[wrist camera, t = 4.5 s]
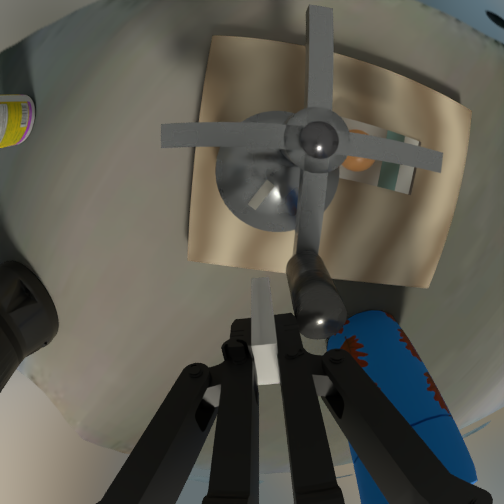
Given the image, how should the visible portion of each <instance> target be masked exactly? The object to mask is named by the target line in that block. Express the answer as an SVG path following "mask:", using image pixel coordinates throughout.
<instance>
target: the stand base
mask: <svg viewBox="0 0 504 504" xmlns="http://www.w3.org/2000/svg"><path fill="white" fill-rule="evenodd" d="M305 58H306V46H302V45H297V44H291V43H286V42H279V41H273V40H265V39H257V38H247V37H235V36H217V35H213V36H212V41H211V46H210V52H209V58H208V63H207V69H206V75H205V82H204V88H203V95H202V102H201V109H200V117H199V122H242V121H244V120H245V119H247V118H249V117H251V116H253V115H256V114H259V113H262V112H268V111H287V112H291V113H297V112H299V111H300V110H302V109H304V92H305ZM332 111H333V112H335V113H336V114H338V115H339V116H340V117H341V118H342V119H343V121H344V122H345V123H346V125H347V127H348V129H349V130H351V129H358V130H362V131H364V132H366V133H367V134H369V135H370V136H375V137H381V138H386V139H390V140H395V141H400V142H404V143H408V144H412V145H416V146H420V147H424V148H428V149H432V150H435V151H439V152H442V153H443V160H442V168H441V173H438V172H434V171H430V170H425V169H421V168H416V167H411V166H406V165H401V164H396V163H391V162H385V161H379V160H375V162H374V163H373V165H372V166H371V167H370V168H368V169H367V170H364V171H360V172H355V171H351V170H348V169H346V168H345V167H343V166H342V165H340V166H339V183H338V187H337V190H336V193H335V195H334V198H333V200H332V201H331V203H330V205H329V206H328V207H327V209H326V210H325V211H324V214H323V222H322V230H321V238H320V245H319V253H318V255H319V256H320V257H321V258H322V260H323V262H324V264H325V266H326V268H327V270H328V272H329V274H330V276H331V278H332V279H341V280H350V281H360V282H369V283H379V284H388V285H398V286H408V287H419V288H428V287H429V285H430V282H431V280H432V277H433V275H434V272H435V269H436V267H437V264H438V261H439V259H440V256H441V253H442V250H443V247H444V244H445V241H446V238H447V235H448V232H449V228H450V225H451V221H452V218H453V214H454V211H455V207H456V203H457V199H458V195H459V191H460V186H461V182H462V177H463V172H464V166H465V161H466V155H467V148H468V141H469V134H470V125H471V114H472V111H471V110H469V109H468V108H466V107H464V106H463V105H461V104H459V103H457V102H456V101H454V100H452V99H450V98H448V97H446V96H445V95H443V94H441V93H439V92H437V91H435V90H433V89H431V88H429V87H427V86H424V85H422V84H420V83H418V82H416V81H413V80H411V79H409V78H407V77H404V76H402V75H399V74H397V73H394V72H392V71H389V70H386V69H384V68H381V67H378V66H375V65H373V64H370V63H367V62H364V61H360V60H357V59H354V58H351V57H347V56H344V55H340V54H336V53H334V60H333V102H332ZM219 149H220V147H196V150H195V160H194V170H193V181H192V193H191V206H190V221H189V239H188V261H195V262H202V263H209V264H217V265H225V266H232V267H240V268H248V269H256V270H264V271H272V272H281V273H286V266H287V263H288V261H289V260H290V258H291V257H292V255H293V246H294V236H295V230H292V231H286V232H269V231H263V230H260V229H257V228H254V227H252V226H250V225H247V224H246V223H244V222H243V221H241V220H240V219H238V218H237V217H236V216H235V215H234V214H233V213H232V212H231V211H230V210H229V209H228V207H227V206H226V205H225V203H224V201H223V199H222V198H221V196H220V193H219V190H218V187H217V183H216V175H215V167H216V160H217V155H218V152H219Z"/></svg>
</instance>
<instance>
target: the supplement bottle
mask: <svg viewBox="0 0 504 504" xmlns="http://www.w3.org/2000/svg"><path fill="white" fill-rule="evenodd" d="M34 120H35V107H34V103H33V101H32V99H31V98H30V97H29V96H27V95H16V94H13V95H0V148H3V147H8V146H12V145H17V144H20V143H22V142H23V141H24V140H25V139H26V138H27V137H28V136H29V134H30V132H31V130H32V127H33V124H34Z"/></svg>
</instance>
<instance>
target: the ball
mask: <svg viewBox="0 0 504 504" xmlns="http://www.w3.org/2000/svg"><path fill="white" fill-rule="evenodd" d="M349 132H353V133H359V134H365V135H369V134H367V133H366V132H364V131H362V130H358V129H351V130H349ZM374 162H375V160H373V159H367V158H360V157H353V156H347V158H346V159H345V161H344V162H343V163H342V164H341V165H342V166H343V167H345V168H346V169H348V170H351V171H355V172H360V171H364V170H367V169H368V168H370V167H371V166H372V165H373V163H374Z"/></svg>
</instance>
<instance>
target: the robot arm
mask: <svg viewBox="0 0 504 504" xmlns="http://www.w3.org/2000/svg"><path fill="white" fill-rule="evenodd" d="M58 327H59V324H58V317H57V313H56V310H55V307H54V305H53V302H52V300H51V298H50V296H49V294H48V293H47V291H46V290H45V288H44V287H43V285H42V284H41V282H40V281H39V280H38V279H37V278H36V276H35V275H34V274H33V273H32V272H31V271H30V270H29V269H27V268H26V267H25V266H23V265H22V264H20V263H18V262H15V261H6V262H4V263H3V264H1V265H0V393H1V391H2V389H3V388H4V386H5V385H6V383H7V382H8V380H9V379H10V377H11V376H12V374H13V373H14V371H15V370H16V369H17V367H18V366H19V364H20V363H21V362H22V361H23V359H24V358H25V357H27V356H29V355H31V354H32V353H34V352H36V351H38V350H39V349H40V348H42V347H45V346H47V345H48V344H49V343H50V342H51V341H52V340H53V338H54V337H55V336H56V334H57V332H58ZM221 349H222V352H223V356H224V360H225V361H224V362H222V363H221V364H219V365H216V366H213V367H209V368H208V366H206V365H205V364H202V363H193V364H190V365H188V366H187V367H185V368H184V369H183V371H182V372H181V374H180V376H179V377H178V379H177V380H176V382H175V384H174V385H173V387H172V388H171V390H170V392H169V393H168V395H167V396H166V398H165V400H164V401H163V403H162V404H161V406H160V408H159V409H158V411H157V412H156V414H155V416H154V417H153V419H152V420H151V422H150V424H149V425H148V427H147V428H146V430H145V431H144V433H143V435H142V436H141V438H140V439H139V441H138V443H137V444H136V446H135V447H134V449H133V451H132V452H131V454H130V455H129V457H128V459H127V460H126V462H125V463H124V465H123V466H122V468H121V470H120V471H119V473H118V474H117V476H116V478H115V479H114V481H113V482H112V484H111V485H110V487H109V489H108V490H107V492H106V493H105V495H104V497H103V498H102V500H101V501H99V502H98V503H96V504H175V503H176V501H177V499H178V497H179V495H180V493H181V491H182V489H183V487H184V485H185V483H186V481H187V479H188V477H189V475H190V472H191V470H192V468H193V466H194V464H195V462H196V460H197V458H198V456H199V453H200V451H201V449H202V447H203V445H204V443H205V440H206V438H207V436H208V434H209V432H210V429H211V427H212V425H213V423H214V420H215V418H216V416H217V422H216V430H215V438H214V446H213V455H212V463H211V471H210V480H209V489H208V493H207V495H206V496H205V497H204V498H203V501H202V504H259V392H258V385H264V384H276V383H280V385H281V393H282V401H283V409H284V418H285V426H286V435H287V444H288V452H289V461H290V470H291V479H292V489H293V498H294V504H345V503H344V498H343V494H342V491H341V488H340V487H339V486H338V484H337V481H336V476H335V471H334V466H333V462H332V457H331V453H330V448H329V444H328V439H327V435H326V430H325V426H324V422H323V417H322V413H321V409H320V405H319V401H318V396H321V398H322V400H323V401H324V403H325V404H326V406H327V408H328V409H329V411H330V412H331V414H332V416H333V417H334V419H335V420H336V422H337V424H338V425H339V427H340V428H341V430H342V432H343V433H344V435H345V436H346V438H347V439H348V441H349V443H350V444H351V446H352V447H353V449H354V450H355V452H356V454H357V455H358V457H359V458H360V460H361V461H362V463H363V464H364V466H365V468H366V469H367V471H368V472H369V474H370V475H371V477H372V478H373V480H374V481H375V483H376V484H377V486H378V488H379V489H380V491H381V492H382V494H383V495H384V497H385V498H386V500H387V501H388V503H389V504H492V503H493V499H492V496H491V494H490V493H489V492H487V491H486V490H484V489H481V488H479V487H477V486H475V485H473V484H471V483H468V482H466V481H464V480H462V479H460V478H458V477H456V476H454V475H452V474H450V472H449V471H448V470H447V469H446V468H445V466H444V465H443V464H442V463H441V461H440V460H439V459H438V458H437V457H436V455H435V454H434V453H433V452H432V451H431V449H430V448H429V447H428V446H427V445H426V443H425V442H424V441H423V440H422V439H421V437H420V436H419V435H418V434H417V433H416V431H415V430H414V429H413V428H412V427H411V425H410V424H409V423H408V422H407V421H406V419H405V418H404V417H403V416H402V415H401V413H400V412H399V411H398V410H397V409H396V407H395V406H394V405H393V404H392V403H391V402H390V400H389V399H388V398H387V397H386V396H385V394H384V393H383V392H382V391H381V390H380V388H379V387H378V386H377V385H376V384H375V383H374V381H373V380H372V379H371V378H370V377H369V375H368V374H367V373H366V372H365V371H364V370H363V368H362V367H361V366H360V365H359V364H358V363H357V361H356V360H355V359H354V358H353V357H352V355H351V354H350V353H349V352H347V351H346V350H343V349H337V348H335V349H331V350H329V351H327V352H326V353H325V354H324V355H323V356H321V355H313V354H310V353H308V352H307V351H306V350H305V349H304V348H303V345H302V341H301V336H300V332H299V328H298V324H297V319H296V317H295V316H294V315H293V314H292V313H286V314H278V315H274V313H273V305H272V297H271V289H270V281H269V277H262V278H253V279H252V295H251V318H245V319H235V321H234V322H233V323H232V325H231V332H230V339H229V340H227V341H226V342H225V343H223V345H222V347H221Z"/></svg>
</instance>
